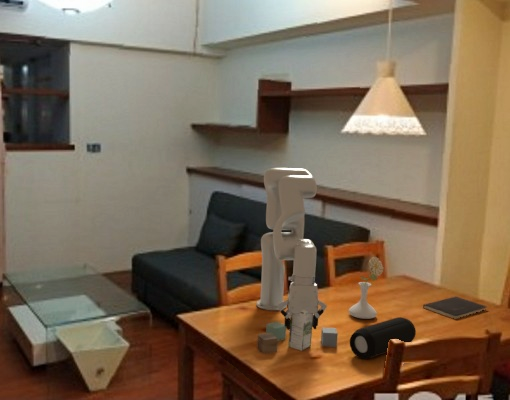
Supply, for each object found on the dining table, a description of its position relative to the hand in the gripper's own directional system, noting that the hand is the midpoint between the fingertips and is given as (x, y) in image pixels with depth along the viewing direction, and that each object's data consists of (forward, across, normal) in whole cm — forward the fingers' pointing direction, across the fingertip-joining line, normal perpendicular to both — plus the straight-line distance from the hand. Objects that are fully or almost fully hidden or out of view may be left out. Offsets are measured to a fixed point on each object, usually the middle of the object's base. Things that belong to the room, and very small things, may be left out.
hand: (300, 328), depth 183 cm
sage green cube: (+7, -7, +8) cm, 13 cm away
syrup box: (+7, 0, 0) cm, 7 cm away
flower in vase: (+7, +34, +28) cm, 45 cm away
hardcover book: (+8, +78, +35) cm, 86 cm away
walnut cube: (+7, -12, -2) cm, 14 cm away
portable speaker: (+7, +28, -5) cm, 30 cm away
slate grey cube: (+7, +11, +2) cm, 13 cm away
